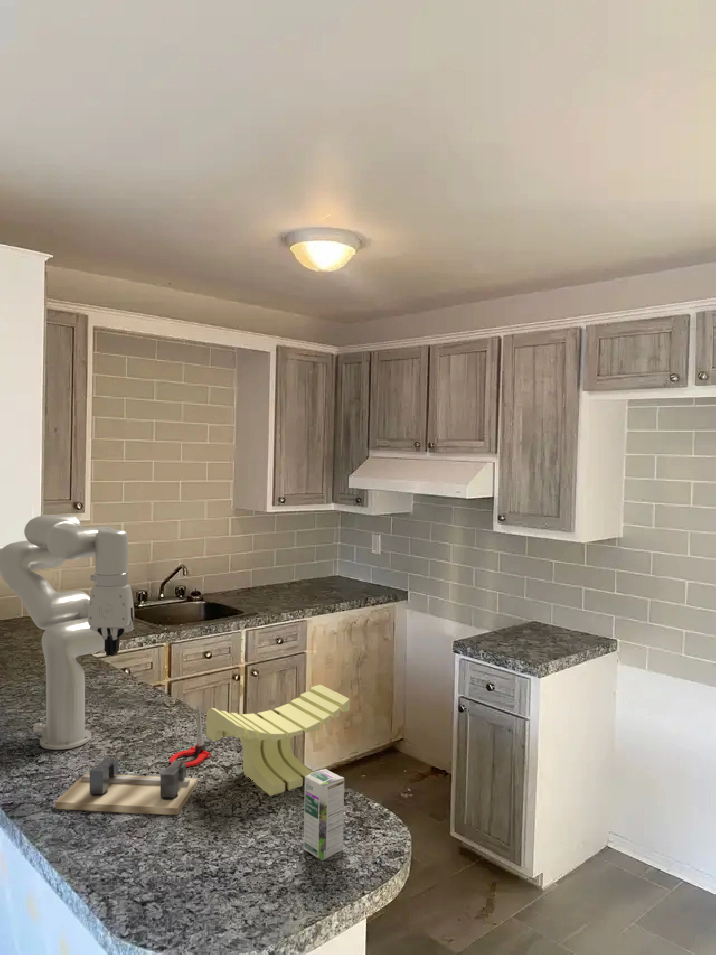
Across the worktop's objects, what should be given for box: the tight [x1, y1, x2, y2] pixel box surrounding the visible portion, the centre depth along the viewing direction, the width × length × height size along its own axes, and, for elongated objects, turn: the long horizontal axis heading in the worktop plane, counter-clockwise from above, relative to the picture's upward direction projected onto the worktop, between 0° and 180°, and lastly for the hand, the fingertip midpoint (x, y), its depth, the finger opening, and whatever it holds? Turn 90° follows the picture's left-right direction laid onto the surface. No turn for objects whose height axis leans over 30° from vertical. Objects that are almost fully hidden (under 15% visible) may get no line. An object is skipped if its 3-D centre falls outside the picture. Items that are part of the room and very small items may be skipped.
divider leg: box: [89, 756, 120, 794], centre depth 161 cm, size 3×8×5 cm, turn 175°
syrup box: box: [303, 768, 345, 862], centre depth 139 cm, size 6×6×14 cm
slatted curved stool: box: [205, 684, 351, 797], centre depth 171 cm, size 30×16×18 cm, turn 126°
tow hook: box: [169, 704, 212, 768], centre depth 179 cm, size 8×13×9 cm
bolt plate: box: [54, 760, 199, 816], centre depth 160 cm, size 27×14×7 cm, turn 85°
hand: (111, 654), depth 176 cm, fingers closed
